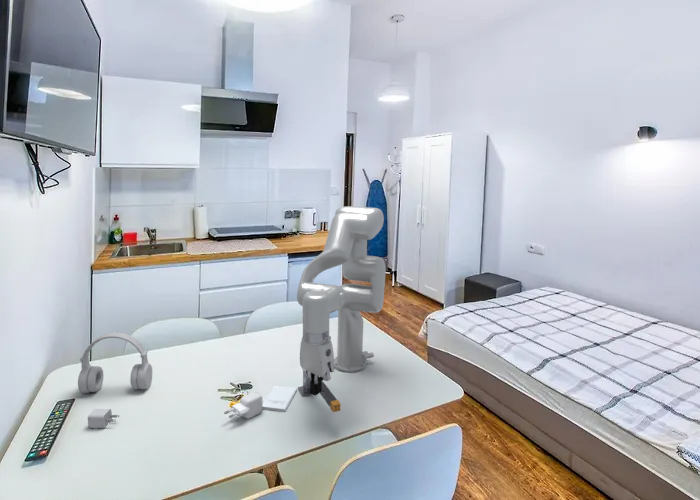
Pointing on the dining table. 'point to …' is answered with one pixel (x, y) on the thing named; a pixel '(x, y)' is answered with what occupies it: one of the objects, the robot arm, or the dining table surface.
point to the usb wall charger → (100, 418)
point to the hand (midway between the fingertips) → (315, 392)
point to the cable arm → (330, 398)
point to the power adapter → (247, 406)
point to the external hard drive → (279, 398)
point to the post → (305, 386)
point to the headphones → (93, 375)
